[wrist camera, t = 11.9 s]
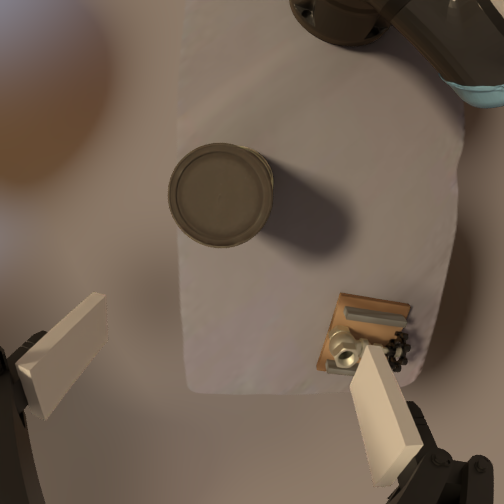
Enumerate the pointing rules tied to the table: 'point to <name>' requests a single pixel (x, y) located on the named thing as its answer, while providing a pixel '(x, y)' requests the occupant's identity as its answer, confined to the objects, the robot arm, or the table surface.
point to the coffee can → (221, 194)
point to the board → (363, 325)
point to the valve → (351, 349)
